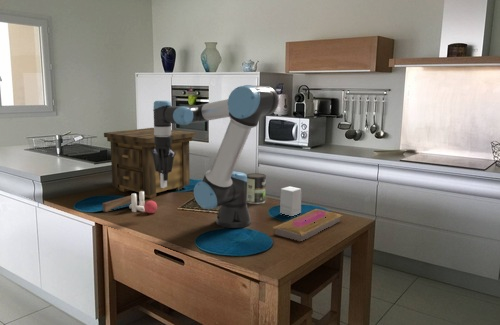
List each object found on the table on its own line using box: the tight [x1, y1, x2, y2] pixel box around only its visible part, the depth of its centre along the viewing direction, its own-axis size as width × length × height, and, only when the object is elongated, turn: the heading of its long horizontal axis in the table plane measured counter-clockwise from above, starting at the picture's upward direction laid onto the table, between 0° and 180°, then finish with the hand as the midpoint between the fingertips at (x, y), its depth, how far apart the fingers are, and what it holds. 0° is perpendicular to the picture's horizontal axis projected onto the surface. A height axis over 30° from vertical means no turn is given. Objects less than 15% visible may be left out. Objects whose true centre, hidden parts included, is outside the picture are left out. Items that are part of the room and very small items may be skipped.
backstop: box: [102, 194, 139, 213], centre depth 213 cm, size 2×20×4 cm, turn 148°
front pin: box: [128, 204, 146, 212], centre depth 209 cm, size 2×2×8 cm
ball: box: [144, 200, 158, 214], centre depth 204 cm, size 6×6×6 cm
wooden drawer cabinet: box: [103, 127, 196, 199], centre depth 244 cm, size 35×35×33 cm
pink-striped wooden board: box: [272, 208, 344, 242], centre depth 188 cm, size 35×14×6 cm, turn 141°
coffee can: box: [246, 172, 267, 205], centre depth 226 cm, size 10×10×14 cm
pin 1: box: [131, 192, 138, 213], centre depth 206 cm, size 2×2×8 cm
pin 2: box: [138, 191, 146, 207], centre depth 210 cm, size 2×2×8 cm
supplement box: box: [279, 185, 302, 217], centre depth 205 cm, size 7×7×13 cm
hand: (163, 187), depth 197 cm, fingers closed
